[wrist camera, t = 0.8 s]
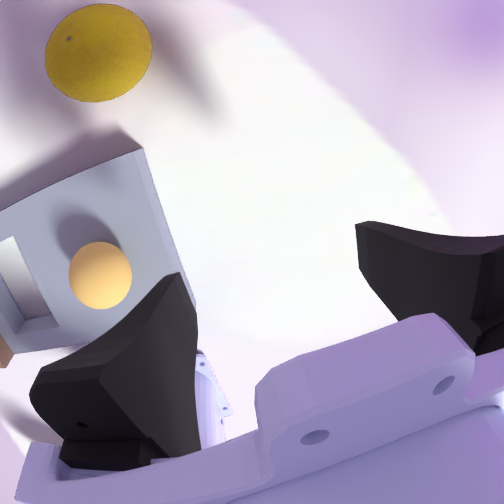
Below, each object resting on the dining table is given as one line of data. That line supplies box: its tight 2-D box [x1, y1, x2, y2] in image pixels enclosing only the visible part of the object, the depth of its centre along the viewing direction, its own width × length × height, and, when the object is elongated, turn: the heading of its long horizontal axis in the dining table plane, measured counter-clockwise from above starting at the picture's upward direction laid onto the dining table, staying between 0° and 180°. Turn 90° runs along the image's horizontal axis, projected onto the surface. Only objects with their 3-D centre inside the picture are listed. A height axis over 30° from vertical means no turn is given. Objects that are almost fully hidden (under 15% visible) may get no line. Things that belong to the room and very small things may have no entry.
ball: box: [68, 242, 132, 309], centre depth 17 cm, size 4×4×4 cm
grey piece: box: [0, 148, 196, 368], centre depth 18 cm, size 12×20×4 cm, turn 103°
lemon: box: [45, 4, 152, 102], centre depth 12 cm, size 6×6×8 cm
